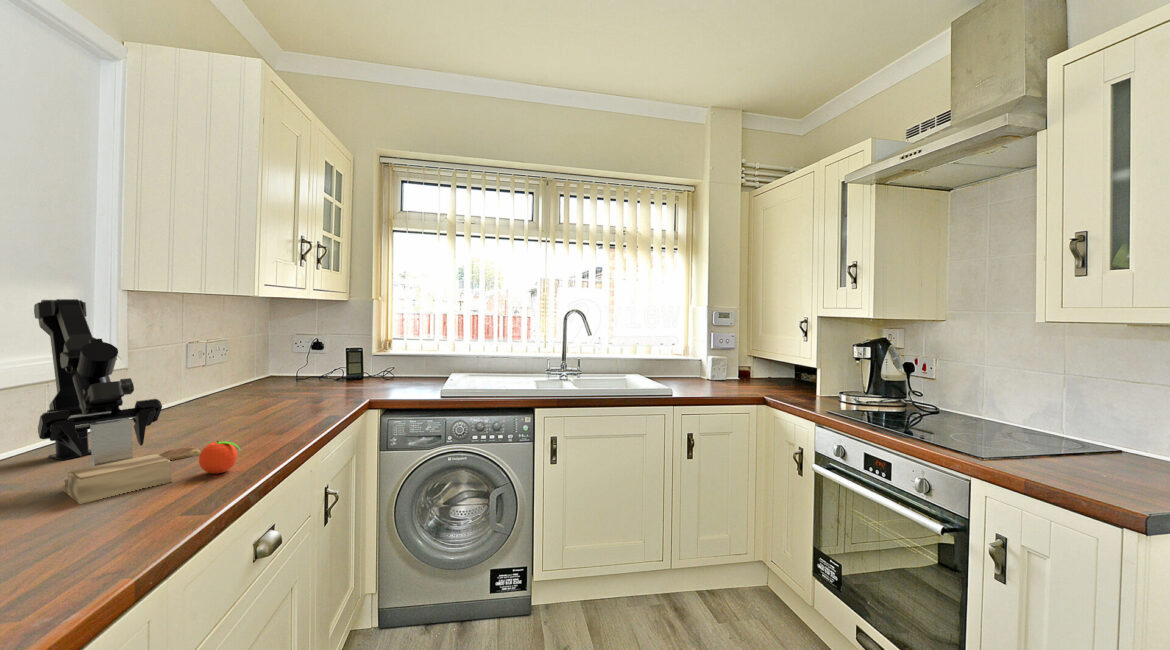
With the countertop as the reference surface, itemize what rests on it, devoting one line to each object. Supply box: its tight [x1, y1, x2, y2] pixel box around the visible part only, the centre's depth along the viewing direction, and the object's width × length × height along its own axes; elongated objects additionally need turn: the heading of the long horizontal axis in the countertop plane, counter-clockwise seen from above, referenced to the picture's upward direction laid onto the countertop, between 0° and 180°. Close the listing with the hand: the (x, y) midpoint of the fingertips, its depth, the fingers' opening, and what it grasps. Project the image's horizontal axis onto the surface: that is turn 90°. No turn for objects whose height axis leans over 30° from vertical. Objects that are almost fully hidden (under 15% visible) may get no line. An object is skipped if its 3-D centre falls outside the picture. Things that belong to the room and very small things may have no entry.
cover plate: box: [89, 418, 134, 466], centre depth 105 cm, size 2×6×13 cm, turn 146°
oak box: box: [63, 453, 173, 505], centre depth 104 cm, size 12×14×5 cm
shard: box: [159, 445, 201, 461], centre depth 123 cm, size 11×8×2 cm
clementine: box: [198, 440, 242, 475], centre depth 112 cm, size 8×7×7 cm
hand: (113, 449), depth 105 cm, fingers open, 9 cm apart
